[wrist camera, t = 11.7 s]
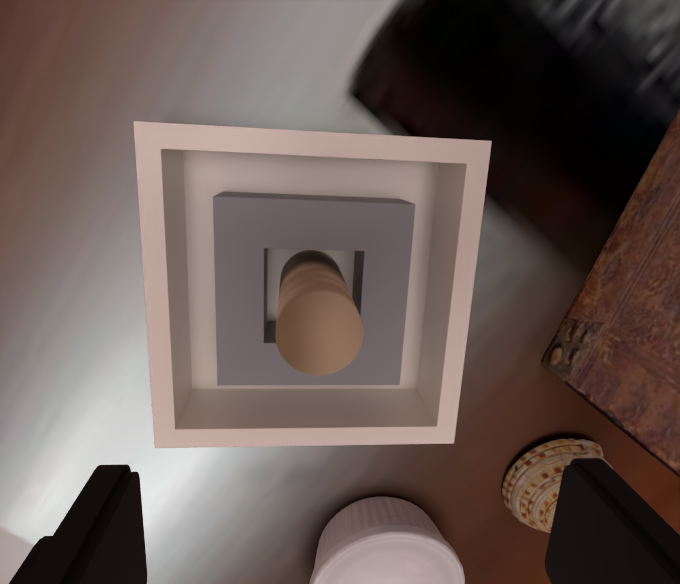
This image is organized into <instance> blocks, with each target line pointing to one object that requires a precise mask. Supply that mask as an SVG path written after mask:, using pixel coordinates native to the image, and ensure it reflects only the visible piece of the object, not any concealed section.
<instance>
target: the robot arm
mask: <svg viewBox="0 0 680 584" xmlns="http://www.w3.org/2000/svg"><path fill="white" fill-rule="evenodd" d="M545 568H546V572H547V575H548V577H549V579H550V581H551V583H552V584H680V535H679V534H678V533H677V532H676V531H675V530H674V529H673V528H672V527H670V526H669V525H668V524H667V523H666V522H665V521H664V520H663V519H662V518H661V517H660V516H659V515H658V514H657V513H656V512H655V511H654V510H653V509H652V508H651V507H650V506H649V505H648V504H647V503H646V502H645V501H644V500H643V499H642V498H641V497H640V496H639V495H638V494H637V493H636V492H635V491H634V490H633V489H632V488H631V487H630V486H629V485H628V484H627V483H626V482H625V481H624V480H623V479H622V478H621V477H620V476H619V475H618V474H617V473H616V472H615V471H614V470H613V469H612V468H611V467H610V466H609V465H608V464H607V463H606V462H605V461H604V460H602V459H600V458H575V459H573V460H572V461H571V462H570V465H567V466H565V468H564V470H563V474H562V479H561V484H560V489H559V494H558V499H557V503H556V508H555V513H554V518H553V523H552V528H551V533H550V538H549V542H548V547H547V552H546V557H545ZM146 583H147V566H146V554H145V541H144V528H143V516H142V503H141V491H140V478H139V474H138V472H131V470H130V467H129V466H128V465H99V466H98V467H97V468H96V469H95V470H94V472H93V474H92V475H91V477H90V478H89V480H88V481H87V483H86V485H85V486H84V488H83V489H82V491H81V492H80V494H79V496H78V497H77V499H76V500H75V502H74V503H73V505H72V507H71V508H70V510H69V511H68V513H67V514H66V516H65V518H64V519H63V521H62V522H61V524H60V525H59V527H58V529H57V530H56V532H55V533H54V535H53V536H44V537H43V538H41V539H40V540H39V541H38V542H37V543H36V544H35V546H34V547H33V548H32V550H31V551H30V553H29V554H28V556H27V557H26V559H25V560H24V562H23V564H22V565H21V567H20V568H19V569H18V571H17V572H16V574H15V575H14V577H13V578H12V580H11V581H10V583H9V584H146Z"/></svg>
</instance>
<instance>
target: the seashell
mask: <svg viewBox="0 0 680 584" xmlns="http://www.w3.org/2000/svg"><path fill="white" fill-rule="evenodd" d="M573 440H574V439H572V438H571V439H570V438H569V439H559V440H554V441H550V442H547V443H544V444H542V445H539V446H537V447H535V448H534V449H532V450H530V451H529V452H527V453H526V454H525V455H523V456H522V457H521V458H520V459H519V460H518V461H517V462H516V463H515V464H514V465H513V466H512V467H511V469H510V470H509V471H508V473H507V475H506V477H505V480H504V482H503V487H502V495H503V501H504V503H505V505H506V506H507V508H508V509H509V510H510V512H511V513H512V514H513V515H514V516H515V517H516V518H517V519H518V520H520V521H521V522H523V523H524V524H526V525H528V526H530V527H533V528H535V529H537V530H541V531H544V532H548V533H551V528H552V523H553V518H554V513H555V508H556V503H557V499H558V494H559V489H560V484H561V479H562V474H563V470H564V468H565V466H567V465H570V462H571V461H572V460H573V459H575V458H600V459H602V460H604V461H605V462H606V463H607V464H608V465H609V466H610V467H611V468H612V466H611V465H610V464H609V463H608V462H607V461H606V460H605V459H604V457H603V451H602V448H601V447H600V445H598V444H596V443H594V442H593V441H590V440H584V439H580V440H574V441H573ZM612 469H613V468H612Z"/></svg>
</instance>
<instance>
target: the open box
mask: <svg viewBox="0 0 680 584" xmlns="http://www.w3.org/2000/svg"><path fill="white" fill-rule="evenodd" d="M134 136H135V151H136V167H137V182H138V197H139V213H140V228H141V244H142V259H143V275H144V290H145V305H146V321H147V336H148V352H149V367H150V383H151V398H152V413H153V429H154V444H155V448H189V447H254V446H318V445H383V444H448V443H454V438H455V430H456V422H457V414H458V406H459V398H460V390H461V382H462V374H463V366H464V358H465V350H466V342H467V334H468V326H469V318H470V310H471V302H472V294H473V286H474V278H475V270H476V262H477V254H478V246H479V239H480V231H481V223H482V215H483V207H484V199H485V191H486V183H487V175H488V167H489V159H490V151H491V143H492V141H483V140H465V139H446V138H428V137H410V136H392V135H374V134H355V133H337V132H319V131H301V130H282V129H264V128H246V127H228V126H209V125H191V124H173V123H155V122H137V121H134ZM223 191H226V192H251V193H275V194H300V195H325V196H349V197H374V198H399V199H402V200H405V201H408V202H411V203H413V204H416V205H415V217H414V228H413V240H412V251H411V262H410V274H409V285H408V296H407V308H406V319H405V331H404V342H403V353H402V365H401V376H400V385H217V351H216V309H215V268H214V226H213V196H215V195H217V194H219V193H221V192H223ZM306 250H312V249H276V248H268V252H267V321H277V311H278V300H279V288H280V277H281V272H282V269H283V267H284V265H285V263H286V262H287V261H288V260H289V259H290V258H291V257H292V256H293V255H295V254H297V253H299V252H302V251H306ZM317 251H321V252H323V253H325V254H327V255H329V256H330V257H331V258H333V259H334V261H335V262H336V263H337V265H338V267H339V269H340V271H341V273H342V276H343V278H344V280H345V283H346V285H347V287H348V290H349V292H350V294H351V296H352V292H353V274H354V256H355V251H347V250H317Z"/></svg>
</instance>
